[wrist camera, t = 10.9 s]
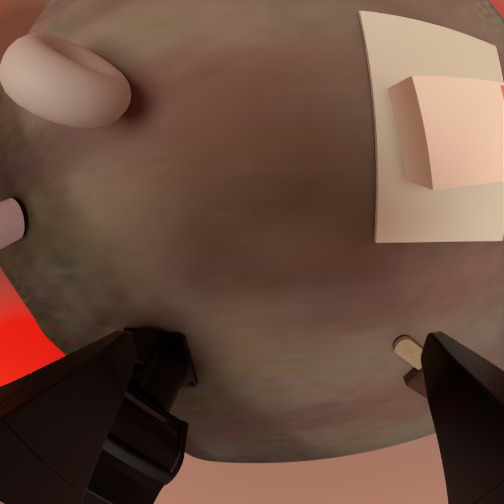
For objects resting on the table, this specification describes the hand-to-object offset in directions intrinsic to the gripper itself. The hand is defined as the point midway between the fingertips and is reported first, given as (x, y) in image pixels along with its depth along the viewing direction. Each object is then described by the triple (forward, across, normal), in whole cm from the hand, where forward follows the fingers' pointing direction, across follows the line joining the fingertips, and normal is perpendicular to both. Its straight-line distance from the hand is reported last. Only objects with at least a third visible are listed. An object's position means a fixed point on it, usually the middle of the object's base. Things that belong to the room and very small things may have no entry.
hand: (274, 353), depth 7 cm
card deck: (+12, -12, -7) cm, 18 cm away
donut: (+12, +12, -12) cm, 21 cm away
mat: (+12, -12, -7) cm, 18 cm away
